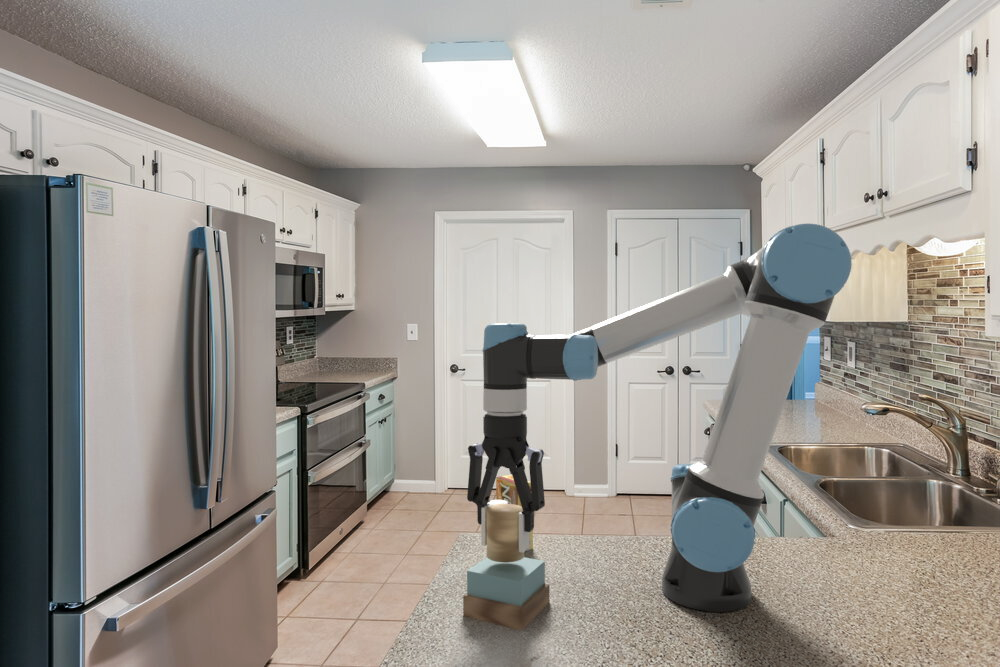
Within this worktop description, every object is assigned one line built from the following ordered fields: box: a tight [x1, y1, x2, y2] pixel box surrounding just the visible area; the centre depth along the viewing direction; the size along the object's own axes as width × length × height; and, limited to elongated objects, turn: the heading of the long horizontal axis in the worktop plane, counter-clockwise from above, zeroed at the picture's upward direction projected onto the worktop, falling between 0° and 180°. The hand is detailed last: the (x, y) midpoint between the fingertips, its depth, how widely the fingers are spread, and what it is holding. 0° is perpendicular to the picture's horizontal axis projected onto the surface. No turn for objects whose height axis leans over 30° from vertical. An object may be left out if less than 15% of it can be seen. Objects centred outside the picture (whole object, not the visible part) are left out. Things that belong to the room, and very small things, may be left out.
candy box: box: [495, 474, 534, 552], centre depth 136 cm, size 9×4×15 cm, turn 33°
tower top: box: [466, 556, 546, 606], centre depth 106 cm, size 10×10×4 cm
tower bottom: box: [462, 582, 550, 632], centre depth 106 cm, size 11×11×4 cm
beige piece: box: [486, 504, 525, 562], centre depth 106 cm, size 6×6×8 cm
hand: (505, 546), depth 106 cm, fingers closed on beige piece, 6 cm apart
